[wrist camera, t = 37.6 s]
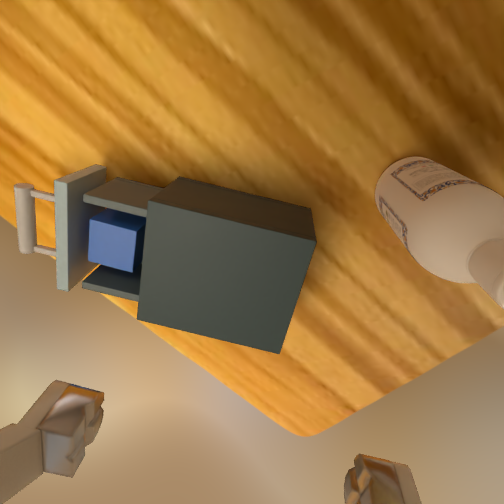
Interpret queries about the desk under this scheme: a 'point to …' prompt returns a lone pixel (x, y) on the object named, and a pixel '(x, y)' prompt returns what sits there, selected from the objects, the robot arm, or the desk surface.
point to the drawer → (83, 226)
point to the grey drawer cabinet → (224, 263)
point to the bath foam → (446, 222)
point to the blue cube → (116, 239)
